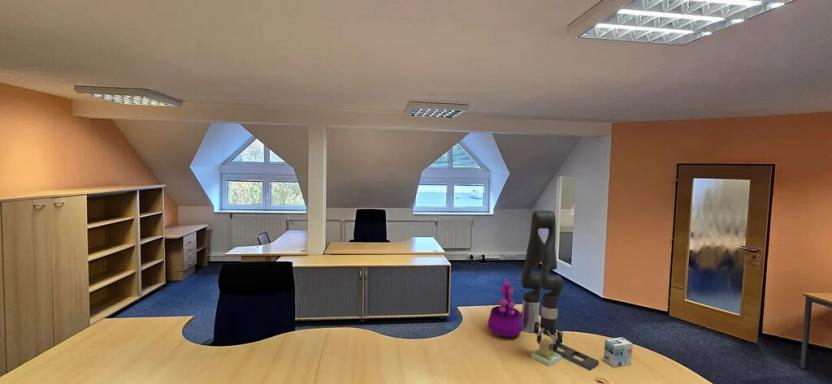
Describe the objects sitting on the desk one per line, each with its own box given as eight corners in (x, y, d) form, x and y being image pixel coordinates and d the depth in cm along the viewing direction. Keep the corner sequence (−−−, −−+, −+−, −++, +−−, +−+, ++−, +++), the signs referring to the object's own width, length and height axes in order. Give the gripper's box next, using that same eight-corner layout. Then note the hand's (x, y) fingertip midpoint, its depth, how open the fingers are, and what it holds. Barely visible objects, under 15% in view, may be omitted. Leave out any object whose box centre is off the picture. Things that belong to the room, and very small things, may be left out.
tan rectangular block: (538, 356, 182) (539, 340, 181) (544, 353, 185) (545, 338, 184) (547, 361, 178) (548, 345, 177) (553, 357, 181) (554, 342, 180)
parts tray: (531, 356, 182) (531, 352, 182) (543, 350, 188) (543, 347, 188) (549, 366, 174) (549, 362, 174) (561, 359, 180) (561, 355, 180)
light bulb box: (613, 367, 175) (615, 345, 174) (602, 360, 181) (604, 339, 180) (631, 364, 178) (633, 343, 177) (620, 357, 184) (622, 336, 183)
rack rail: (544, 348, 191) (545, 344, 191) (553, 344, 196) (553, 340, 196) (590, 370, 172) (590, 366, 172) (598, 365, 177) (599, 361, 177)
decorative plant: (481, 327, 213) (484, 276, 210) (509, 323, 218) (512, 274, 215) (498, 343, 195) (501, 288, 192) (528, 339, 200) (531, 285, 198)
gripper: (531, 311, 183) (529, 342, 184) (558, 322, 171) (555, 355, 173) (540, 308, 187) (538, 338, 189) (566, 318, 176) (564, 350, 178)
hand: (546, 346), depth 181 cm, fingers open, 8 cm apart
